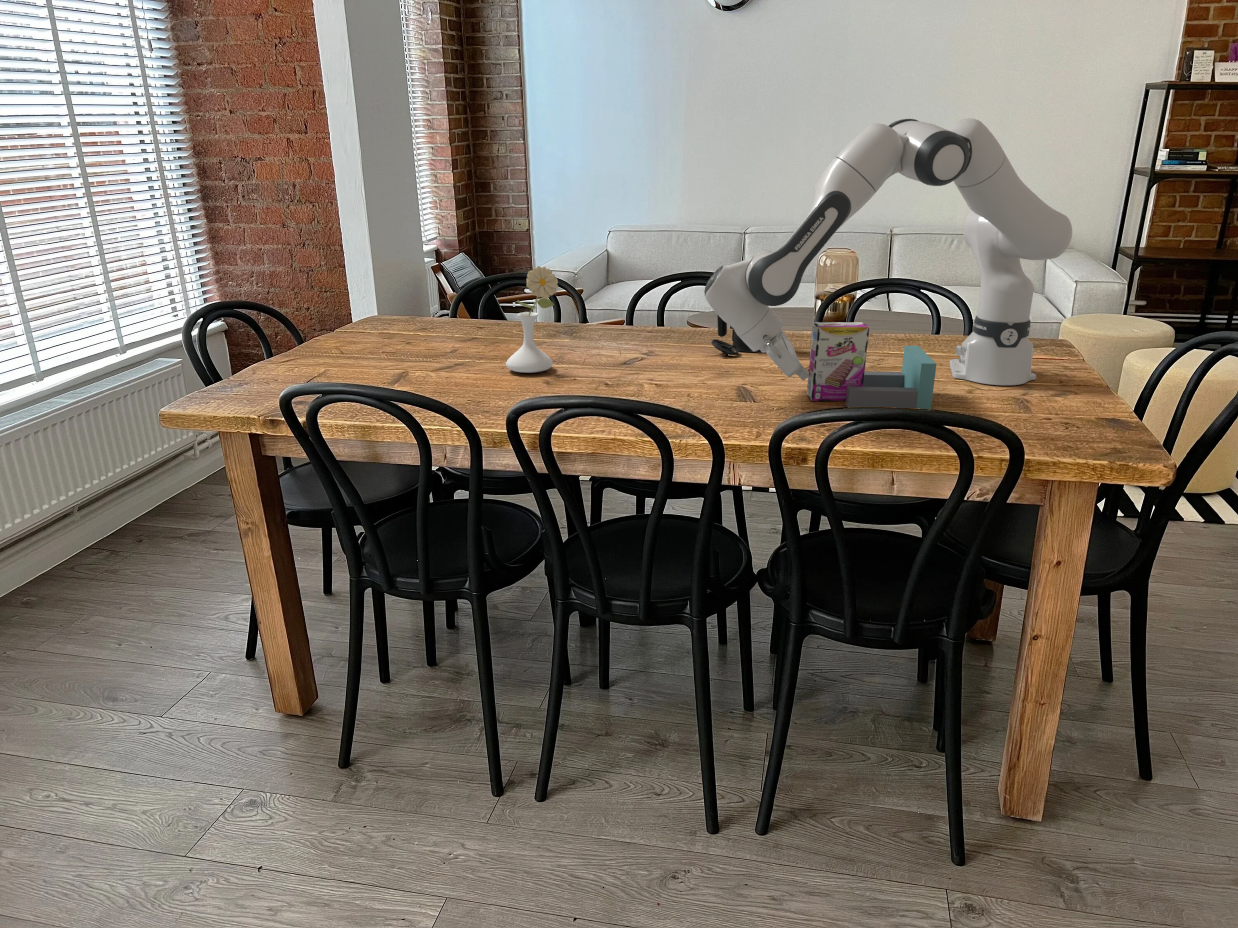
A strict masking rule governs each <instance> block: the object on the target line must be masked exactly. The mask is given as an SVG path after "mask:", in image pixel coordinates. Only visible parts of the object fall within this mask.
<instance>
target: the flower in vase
mask: <svg viewBox="0 0 1238 928" xmlns="http://www.w3.org/2000/svg"><path fill="white" fill-rule="evenodd" d="M525 280H526V288H528V290H529V292H531V295H533V296H535V297H536V299H535V302H534V303H533V305H532V306H531V304H528V303H525V302H522V301H521V300H519V299H517V303H518V304H519V305H520V306H522V307H525V308H527V309H528V308H529V309H530V310H529V311H524V312H519V313H517V317H518V318H519V319H520V321H521V325H522V329H523V343H522V345H521V346H520V348H518V350H516V351H515V352H514V353H513V354H512V355H511V356H510V357H508V359H507V360H506V363H505V366H506V367H507V369H508V370H510V371H512V372H516V373H523V374H524V373H526V374H532V373H534V374H535V373H541V372H544V371H547V370H549V369H551V368H552V366H553V365H554V362H553V359H552V358H551V356H549V355H548V354H546V353H545V352H544V351H543V350H541V349H540V348H539V347H538V346H537V345H536V344H535V340H534V326H535V321H536V319H537V318H538V316H539V313H538V312H533V310H534V308H535V306H536V304H537V305H538V306H539V307H540V308H542V309H548V308H550V307H552V306H555V304H554V303H553V302H552V301H551V300H550V299H549V298H550V296H553V295H555V294H557V291H558V290H557V288H559V285H558V283H559V280H558V278H557V277H556V274H554V273H553V271H552V270H551V269H550V268H547V267H546V266H540V265H537V266H536V267H533V268H532V270H530V271H528V272H527V275H526V279H525ZM539 298H540V299H539Z"/></svg>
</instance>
